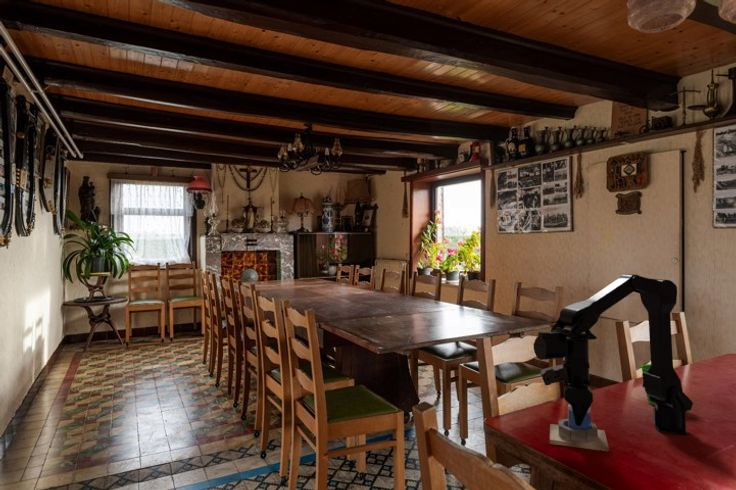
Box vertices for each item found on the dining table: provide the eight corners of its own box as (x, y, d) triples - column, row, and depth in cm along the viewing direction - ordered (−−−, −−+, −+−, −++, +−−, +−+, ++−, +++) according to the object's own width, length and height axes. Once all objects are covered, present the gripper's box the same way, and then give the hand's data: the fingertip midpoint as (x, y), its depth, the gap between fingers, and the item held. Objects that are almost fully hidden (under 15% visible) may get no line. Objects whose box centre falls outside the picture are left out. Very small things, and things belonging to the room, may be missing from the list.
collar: (604, 434, 121) (604, 420, 121) (608, 451, 111) (608, 436, 111) (550, 427, 126) (550, 414, 126) (549, 443, 115) (549, 429, 115)
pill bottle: (594, 439, 115) (593, 400, 115) (571, 438, 116) (570, 399, 116) (588, 431, 120) (587, 393, 120) (566, 430, 121) (565, 392, 121)
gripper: (543, 347, 130) (544, 403, 130) (541, 363, 113) (542, 428, 112) (587, 350, 126) (588, 408, 126) (592, 367, 108) (593, 434, 108)
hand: (577, 419), depth 118 cm, fingers open, 9 cm apart
